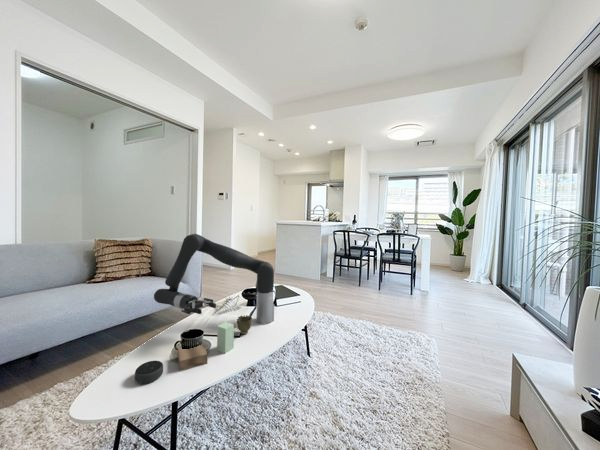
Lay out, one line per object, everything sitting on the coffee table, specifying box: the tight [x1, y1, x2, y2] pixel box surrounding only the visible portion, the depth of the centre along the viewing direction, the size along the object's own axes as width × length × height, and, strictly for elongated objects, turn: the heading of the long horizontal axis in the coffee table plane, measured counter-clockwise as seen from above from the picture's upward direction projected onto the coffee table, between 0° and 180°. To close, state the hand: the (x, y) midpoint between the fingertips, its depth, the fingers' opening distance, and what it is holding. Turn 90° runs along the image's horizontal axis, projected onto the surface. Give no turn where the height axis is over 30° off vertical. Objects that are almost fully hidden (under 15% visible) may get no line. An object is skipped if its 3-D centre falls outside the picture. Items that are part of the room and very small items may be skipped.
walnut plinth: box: [177, 342, 208, 372], centre depth 100 cm, size 10×10×4 cm
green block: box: [216, 321, 235, 354], centre depth 109 cm, size 5×5×11 cm
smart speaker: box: [134, 360, 164, 385], centre depth 90 cm, size 9×9×4 cm
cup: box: [236, 315, 253, 336], centre depth 124 cm, size 8×7×8 cm
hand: (208, 308), depth 114 cm, fingers open, 8 cm apart
